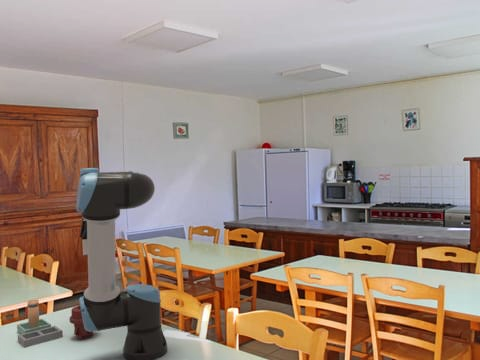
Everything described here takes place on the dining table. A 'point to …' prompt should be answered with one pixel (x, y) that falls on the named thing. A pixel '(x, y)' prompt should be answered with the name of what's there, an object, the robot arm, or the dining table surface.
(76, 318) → the mechanical component
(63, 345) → the dining table surface
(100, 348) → the dining table surface
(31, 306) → the fuse
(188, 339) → the dining table surface
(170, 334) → the dining table surface
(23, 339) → the socket block
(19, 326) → the parts tray
